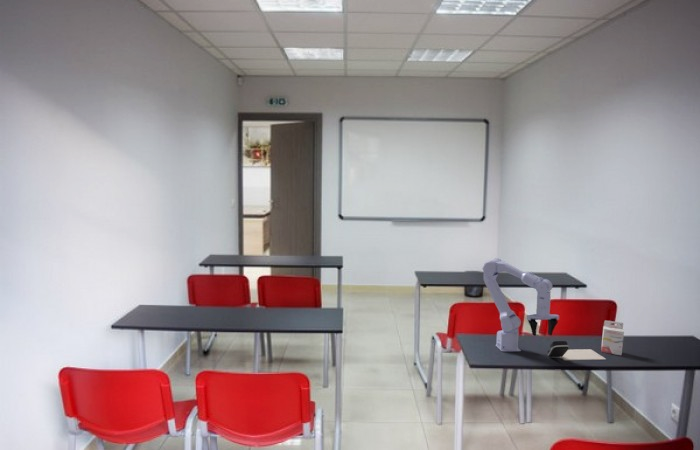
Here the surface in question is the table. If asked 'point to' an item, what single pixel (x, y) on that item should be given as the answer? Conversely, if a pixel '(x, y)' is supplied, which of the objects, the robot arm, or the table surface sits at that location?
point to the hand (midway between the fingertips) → (542, 334)
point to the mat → (582, 355)
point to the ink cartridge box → (612, 337)
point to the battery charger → (558, 349)
